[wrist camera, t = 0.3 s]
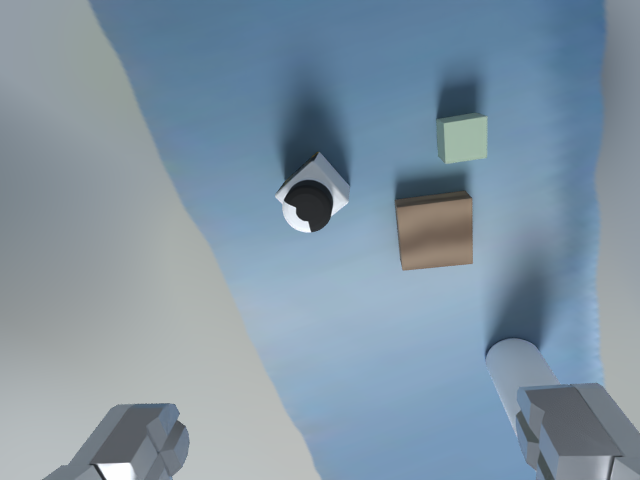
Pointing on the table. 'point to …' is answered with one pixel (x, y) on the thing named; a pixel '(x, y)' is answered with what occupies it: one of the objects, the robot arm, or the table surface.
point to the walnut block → (435, 230)
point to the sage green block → (462, 138)
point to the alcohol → (517, 371)
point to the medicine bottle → (313, 194)
